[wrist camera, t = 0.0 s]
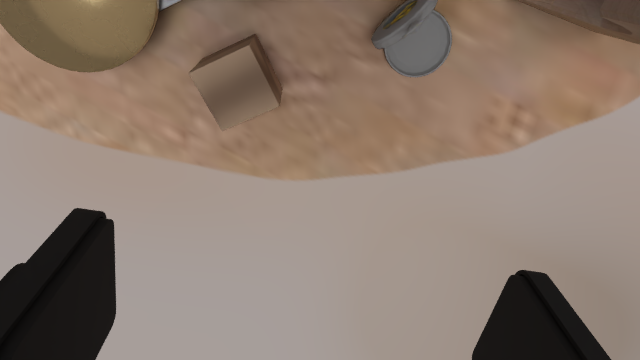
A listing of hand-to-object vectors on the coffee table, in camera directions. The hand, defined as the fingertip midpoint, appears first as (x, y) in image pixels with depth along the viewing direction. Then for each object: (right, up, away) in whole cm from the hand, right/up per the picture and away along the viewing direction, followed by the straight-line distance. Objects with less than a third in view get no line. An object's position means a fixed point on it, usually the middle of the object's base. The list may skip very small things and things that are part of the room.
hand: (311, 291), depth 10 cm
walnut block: (-8, +13, +35) cm, 38 cm away
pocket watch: (+9, +17, +34) cm, 39 cm away
